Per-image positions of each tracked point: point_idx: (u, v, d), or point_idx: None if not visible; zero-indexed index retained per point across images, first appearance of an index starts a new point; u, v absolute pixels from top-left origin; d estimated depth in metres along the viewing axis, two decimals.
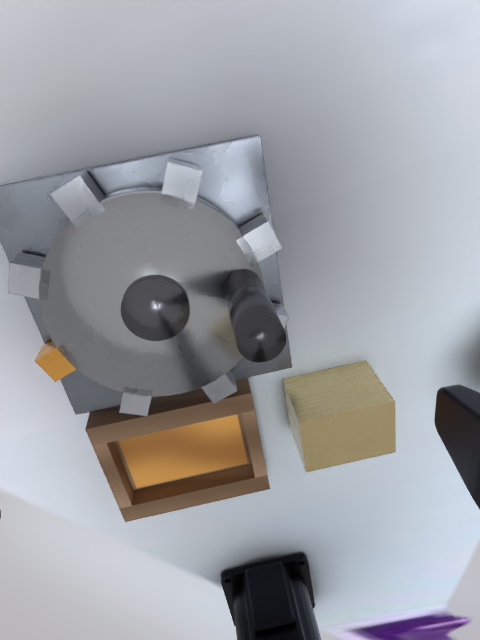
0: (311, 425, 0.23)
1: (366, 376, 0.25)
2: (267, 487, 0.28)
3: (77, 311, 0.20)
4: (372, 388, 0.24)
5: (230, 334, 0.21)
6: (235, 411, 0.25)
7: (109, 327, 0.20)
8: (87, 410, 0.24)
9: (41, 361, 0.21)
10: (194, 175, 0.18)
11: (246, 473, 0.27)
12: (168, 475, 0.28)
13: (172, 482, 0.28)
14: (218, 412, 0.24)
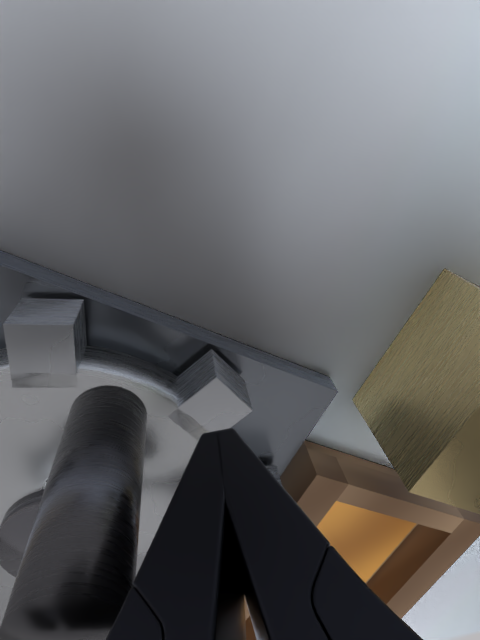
0: (433, 477, 0.11)
1: (462, 303, 0.12)
2: None
3: None
4: None
5: (181, 467, 0.12)
6: (326, 505, 0.14)
7: None
8: None
9: None
10: None
11: (436, 531, 0.16)
12: None
13: None
14: None
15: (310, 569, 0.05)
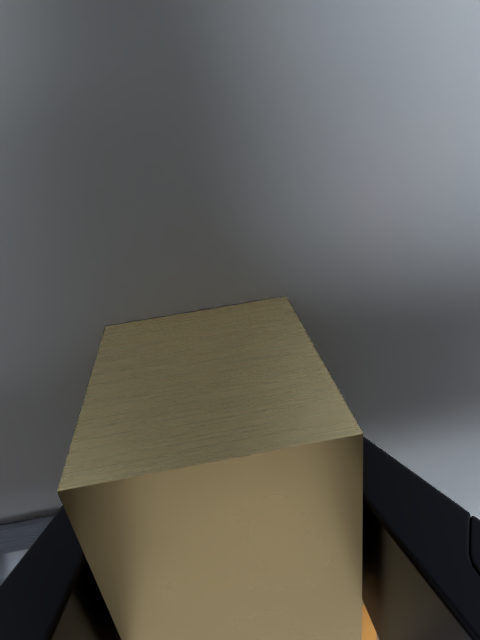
0: None
1: None
2: None
3: None
4: None
5: None
6: None
7: None
8: None
9: None
10: None
11: None
12: None
13: None
14: None
15: (460, 537, 0.05)
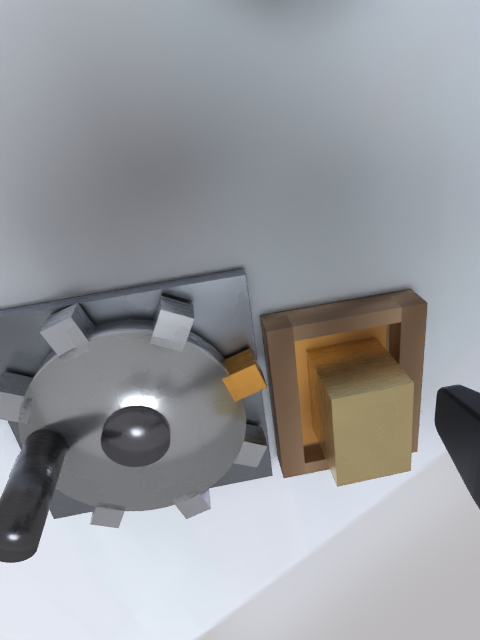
0: (343, 475, 0.20)
1: (315, 376, 0.21)
2: (423, 305, 0.20)
3: (213, 430, 0.21)
4: (322, 392, 0.20)
5: (55, 401, 0.19)
6: (290, 347, 0.20)
7: (186, 415, 0.20)
8: (269, 467, 0.25)
9: (261, 385, 0.20)
10: (96, 521, 0.22)
11: (396, 326, 0.21)
12: None
13: None
14: (287, 365, 0.21)
15: None
